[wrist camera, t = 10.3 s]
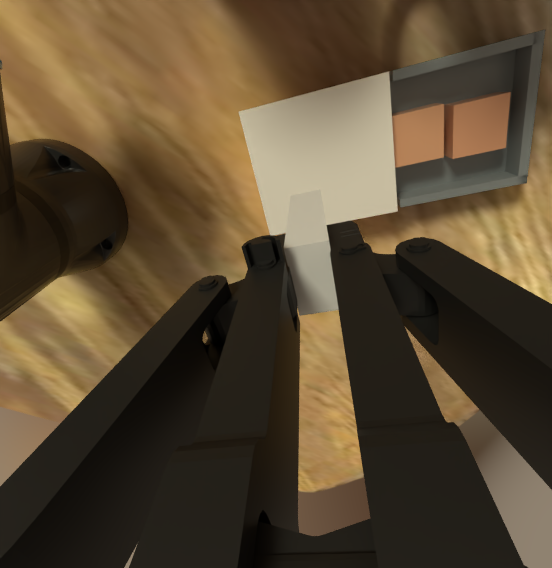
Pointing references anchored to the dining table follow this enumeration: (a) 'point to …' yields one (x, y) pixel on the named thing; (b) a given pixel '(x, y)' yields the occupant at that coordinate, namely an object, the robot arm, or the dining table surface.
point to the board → (325, 151)
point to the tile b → (476, 125)
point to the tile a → (418, 134)
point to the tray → (464, 85)
